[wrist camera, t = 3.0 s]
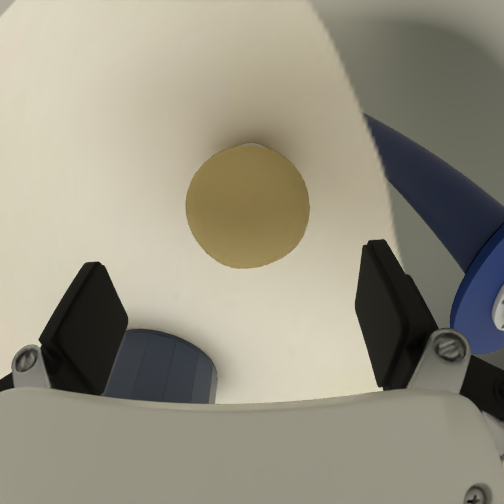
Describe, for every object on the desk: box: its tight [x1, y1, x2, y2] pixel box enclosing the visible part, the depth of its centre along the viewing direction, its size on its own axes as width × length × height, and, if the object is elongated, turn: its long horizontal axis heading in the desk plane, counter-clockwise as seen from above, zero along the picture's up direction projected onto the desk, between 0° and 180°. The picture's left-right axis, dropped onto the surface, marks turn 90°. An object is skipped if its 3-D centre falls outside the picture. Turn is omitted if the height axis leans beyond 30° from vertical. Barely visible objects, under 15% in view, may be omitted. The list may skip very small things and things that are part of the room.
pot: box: [100, 329, 217, 404], centre depth 32 cm, size 15×15×10 cm
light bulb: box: [186, 143, 310, 268], centre depth 18 cm, size 6×6×10 cm
